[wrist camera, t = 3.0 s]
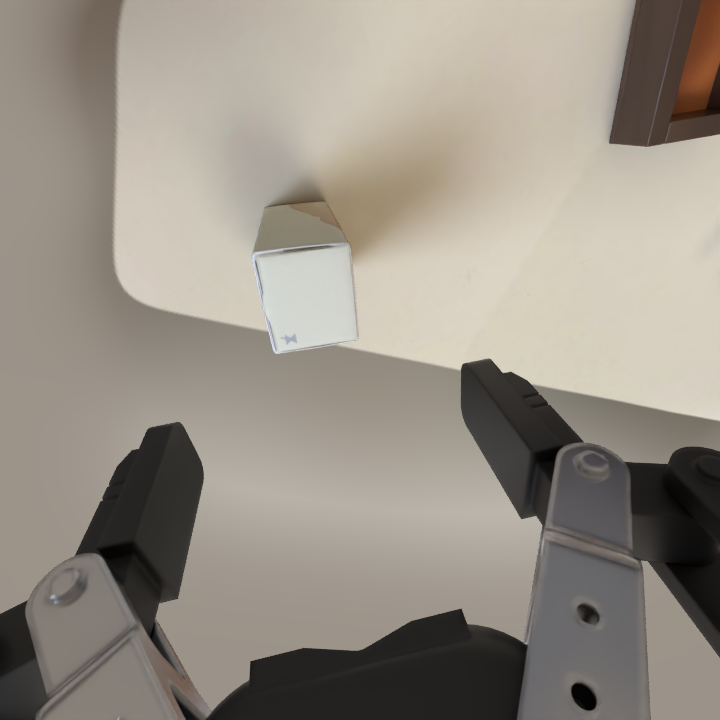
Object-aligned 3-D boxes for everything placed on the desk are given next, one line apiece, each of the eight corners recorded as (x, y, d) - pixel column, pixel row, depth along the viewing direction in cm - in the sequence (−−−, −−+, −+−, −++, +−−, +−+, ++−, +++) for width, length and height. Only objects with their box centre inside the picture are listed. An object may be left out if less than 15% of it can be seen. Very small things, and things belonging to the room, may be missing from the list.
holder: (609, 143, 27) (647, 147, 24) (641, -26, 23) (692, -46, 20) (709, 126, 28) (758, 127, 25) (760, -43, 23) (828, -65, 20)
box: (335, 272, 29) (360, 347, 20) (275, 280, 28) (273, 361, 19) (326, 195, 26) (351, 241, 17) (260, 202, 25) (248, 254, 16)
